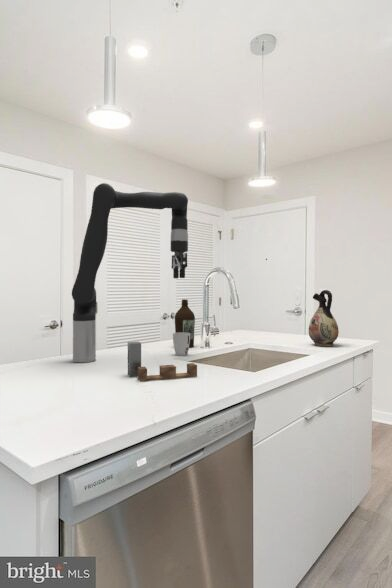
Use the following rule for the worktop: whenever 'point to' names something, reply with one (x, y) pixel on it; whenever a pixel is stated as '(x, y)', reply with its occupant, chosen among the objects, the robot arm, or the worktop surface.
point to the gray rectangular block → (134, 358)
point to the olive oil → (185, 321)
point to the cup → (181, 343)
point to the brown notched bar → (167, 373)
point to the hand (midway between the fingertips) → (179, 278)
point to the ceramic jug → (323, 322)
